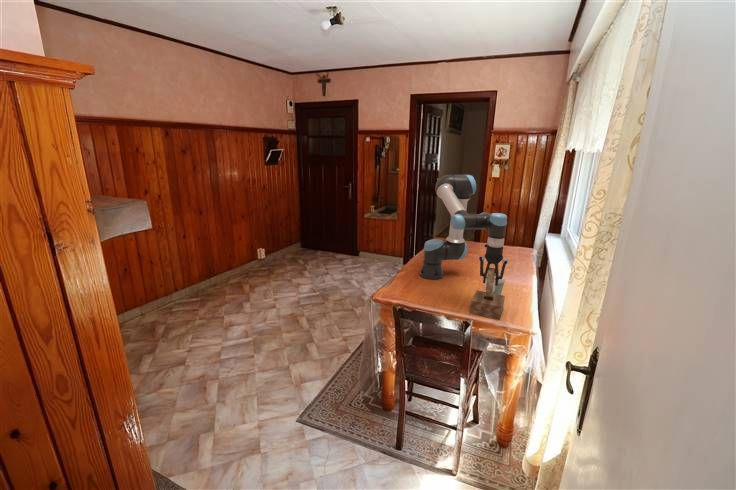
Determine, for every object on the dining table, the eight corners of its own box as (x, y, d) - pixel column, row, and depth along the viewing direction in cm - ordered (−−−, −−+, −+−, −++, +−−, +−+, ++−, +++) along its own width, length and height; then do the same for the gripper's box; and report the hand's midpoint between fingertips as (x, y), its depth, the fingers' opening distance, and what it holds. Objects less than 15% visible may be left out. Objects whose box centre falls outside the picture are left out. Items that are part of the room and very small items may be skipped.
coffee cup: (498, 293, 191) (501, 274, 188) (505, 300, 183) (508, 280, 179) (484, 293, 191) (486, 274, 187) (489, 300, 182) (492, 280, 179)
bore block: (470, 313, 168) (471, 300, 166) (475, 302, 180) (476, 290, 178) (499, 319, 162) (501, 306, 160) (503, 308, 174) (504, 295, 172)
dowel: (485, 295, 168) (488, 269, 164) (486, 292, 171) (489, 267, 167) (491, 296, 166) (495, 270, 162) (492, 294, 169) (496, 268, 165)
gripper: (476, 245, 162) (471, 289, 168) (512, 250, 154) (505, 296, 161) (479, 241, 168) (474, 284, 175) (513, 246, 161) (507, 290, 167)
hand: (489, 290), depth 168 cm, fingers closed on dowel, 3 cm apart
